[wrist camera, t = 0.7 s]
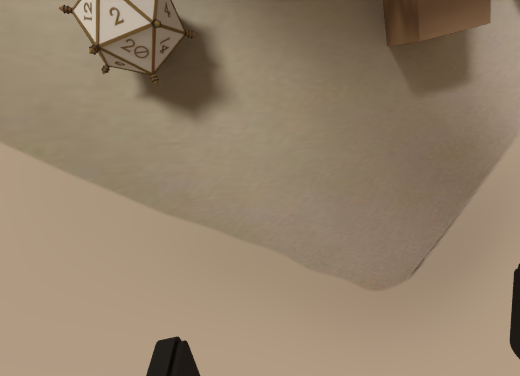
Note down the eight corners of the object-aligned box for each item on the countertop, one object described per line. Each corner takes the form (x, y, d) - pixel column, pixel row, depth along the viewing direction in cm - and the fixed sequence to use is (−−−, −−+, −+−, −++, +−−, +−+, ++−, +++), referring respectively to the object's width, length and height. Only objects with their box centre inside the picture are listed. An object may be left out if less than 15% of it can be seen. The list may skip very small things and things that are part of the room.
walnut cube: (380, -20, 29) (414, -40, 24) (441, -37, 29) (490, -61, 23) (387, 46, 31) (420, 41, 25) (444, 30, 31) (490, 22, 25)
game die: (174, 26, 33) (234, 30, 26) (120, 93, 32) (168, 115, 25) (96, -66, 26) (148, -94, 19) (25, 14, 25) (54, 15, 18)
